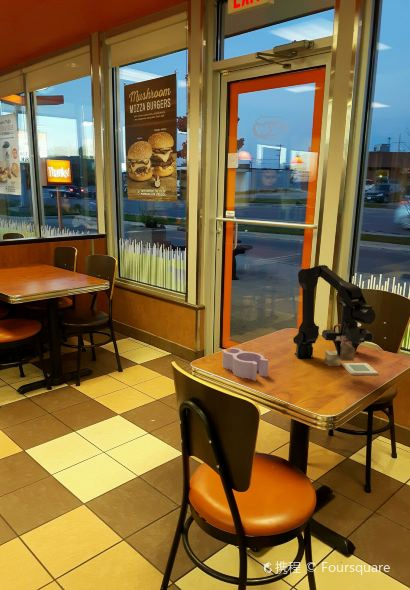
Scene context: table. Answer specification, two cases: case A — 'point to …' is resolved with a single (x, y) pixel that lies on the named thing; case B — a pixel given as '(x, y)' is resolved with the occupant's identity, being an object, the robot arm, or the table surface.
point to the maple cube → (332, 358)
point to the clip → (245, 363)
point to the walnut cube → (346, 352)
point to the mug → (344, 339)
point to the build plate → (359, 369)
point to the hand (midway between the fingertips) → (345, 355)
